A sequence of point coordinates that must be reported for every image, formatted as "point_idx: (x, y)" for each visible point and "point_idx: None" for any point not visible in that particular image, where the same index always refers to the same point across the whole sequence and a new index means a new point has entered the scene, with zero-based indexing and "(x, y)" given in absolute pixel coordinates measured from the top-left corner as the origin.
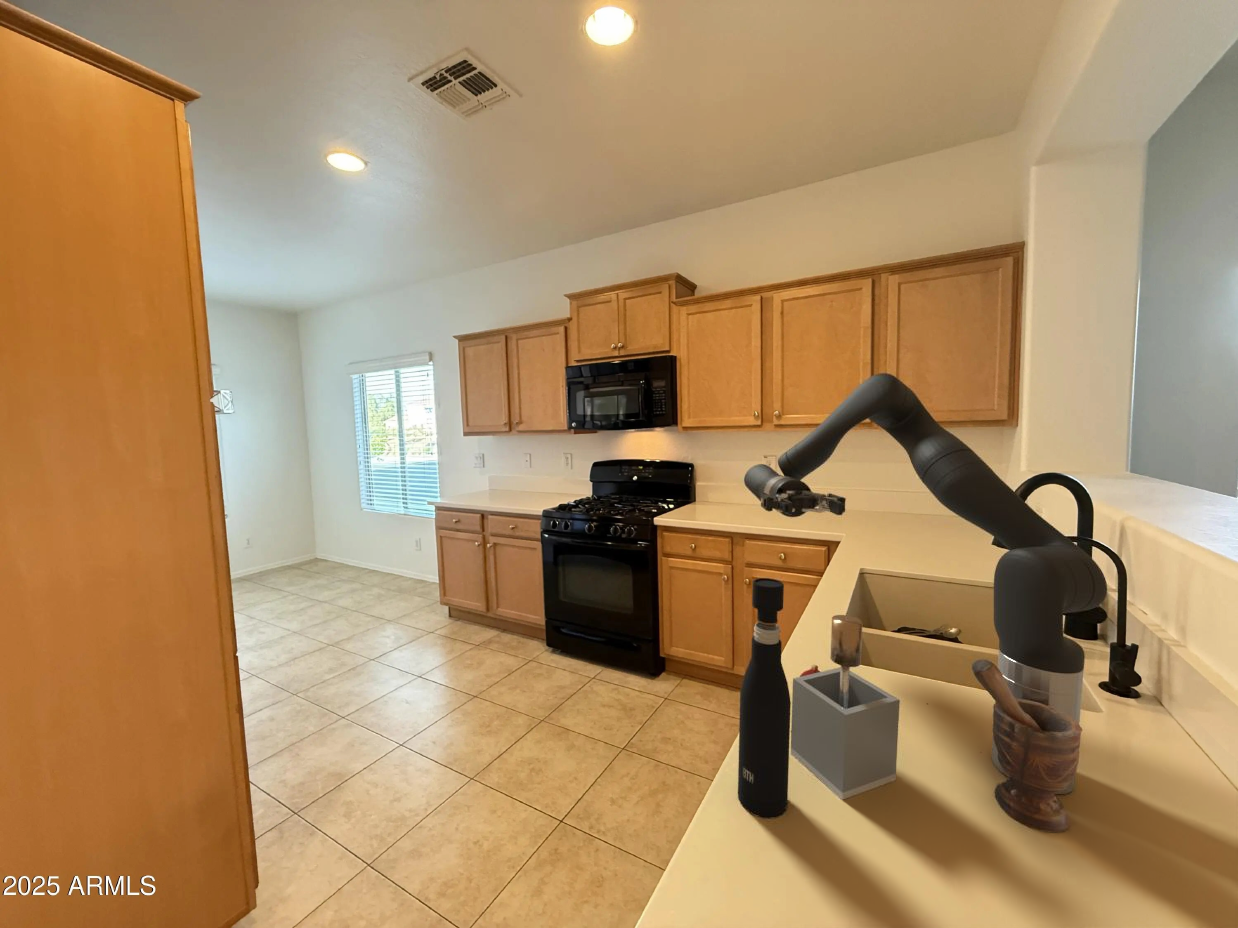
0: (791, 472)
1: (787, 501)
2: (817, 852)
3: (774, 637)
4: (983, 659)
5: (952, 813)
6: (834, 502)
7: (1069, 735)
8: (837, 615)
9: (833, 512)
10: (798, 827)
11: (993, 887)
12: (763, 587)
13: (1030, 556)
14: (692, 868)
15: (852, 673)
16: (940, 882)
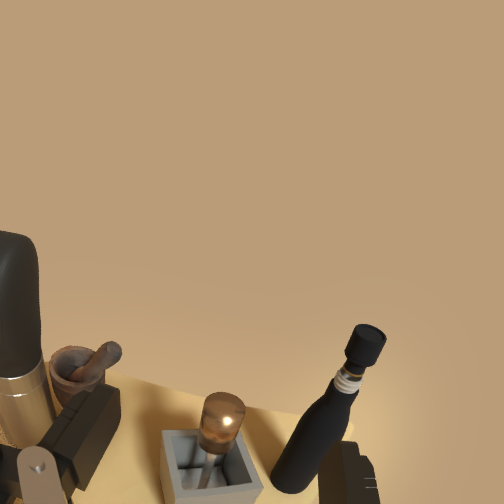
0: None
1: (356, 458)
2: (265, 439)
3: (341, 372)
4: (108, 347)
5: (143, 438)
6: (97, 423)
7: (84, 348)
8: (228, 421)
9: (99, 458)
10: (270, 455)
11: (172, 402)
12: (375, 328)
13: (27, 242)
14: (342, 439)
15: (174, 482)
16: (200, 411)
